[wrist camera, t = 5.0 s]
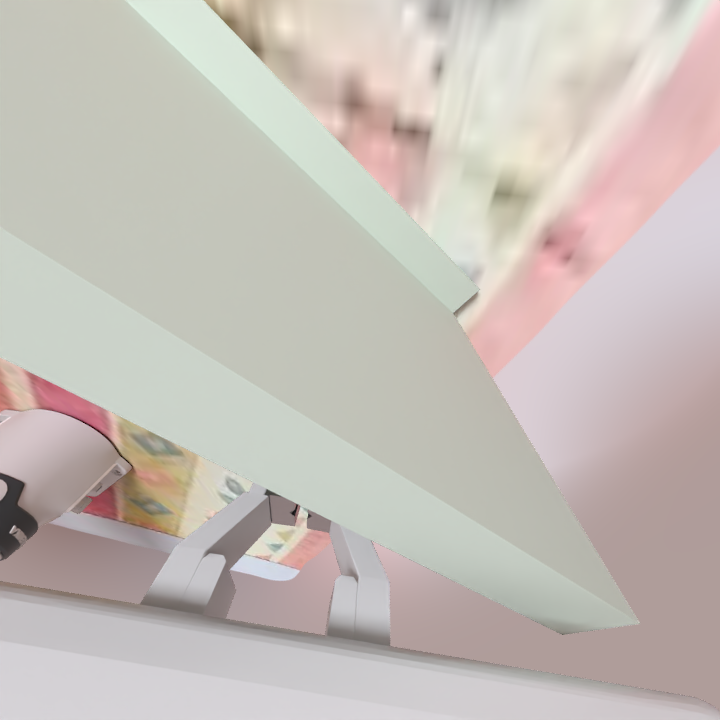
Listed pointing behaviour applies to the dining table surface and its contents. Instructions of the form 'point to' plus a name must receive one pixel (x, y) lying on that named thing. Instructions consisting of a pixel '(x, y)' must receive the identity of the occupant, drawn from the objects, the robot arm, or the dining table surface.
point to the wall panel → (262, 299)
